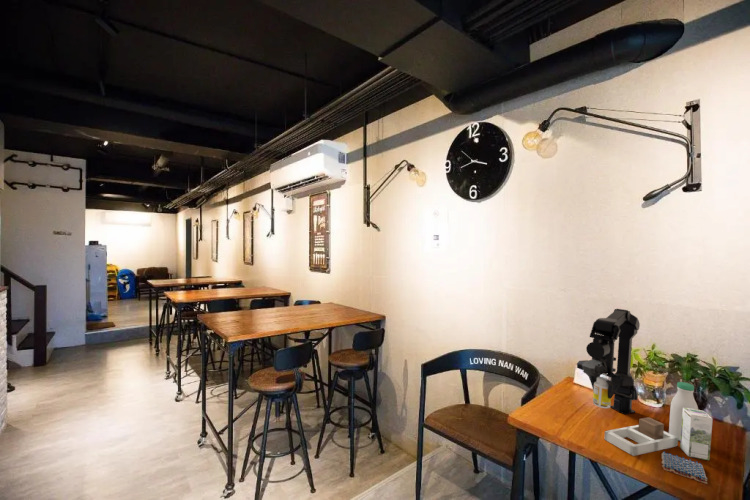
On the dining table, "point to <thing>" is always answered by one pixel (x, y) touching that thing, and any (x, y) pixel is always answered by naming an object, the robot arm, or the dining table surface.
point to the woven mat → (683, 467)
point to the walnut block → (651, 428)
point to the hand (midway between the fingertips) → (602, 394)
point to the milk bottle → (680, 407)
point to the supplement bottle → (601, 393)
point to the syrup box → (696, 433)
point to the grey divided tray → (639, 440)
